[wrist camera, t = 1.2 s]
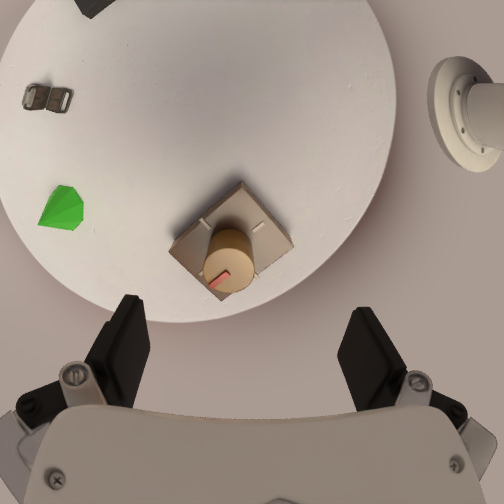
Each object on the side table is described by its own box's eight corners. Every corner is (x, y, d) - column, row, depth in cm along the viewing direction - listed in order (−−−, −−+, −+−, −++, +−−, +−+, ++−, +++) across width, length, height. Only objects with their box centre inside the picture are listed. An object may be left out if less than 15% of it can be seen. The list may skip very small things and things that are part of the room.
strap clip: (24, 106, 21) (3, 107, 17) (30, 83, 20) (9, 82, 16) (67, 114, 23) (45, 115, 19) (75, 90, 22) (54, 87, 18)
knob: (232, 219, 26) (230, 238, 22) (261, 251, 28) (265, 275, 23) (199, 247, 27) (191, 270, 23) (228, 276, 29) (227, 303, 24)
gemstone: (91, 199, 27) (63, 216, 22) (75, 239, 29) (50, 261, 24) (56, 175, 26) (26, 187, 20) (44, 215, 28) (16, 233, 22)
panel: (240, 178, 27) (239, 184, 25) (291, 237, 30) (296, 249, 28) (172, 238, 30) (165, 250, 27) (224, 288, 33) (223, 304, 30)
